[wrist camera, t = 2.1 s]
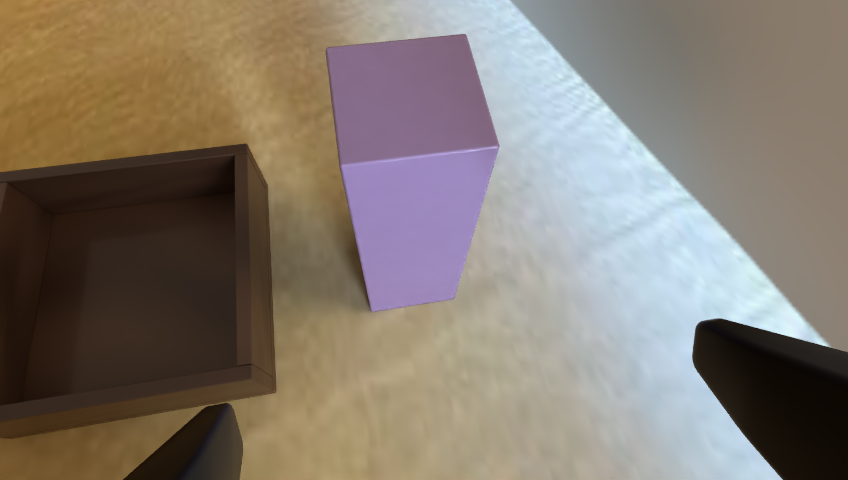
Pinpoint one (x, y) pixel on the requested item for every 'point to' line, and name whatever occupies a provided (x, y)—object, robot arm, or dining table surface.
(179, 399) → the tray
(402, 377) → the dining table surface
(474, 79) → the block
